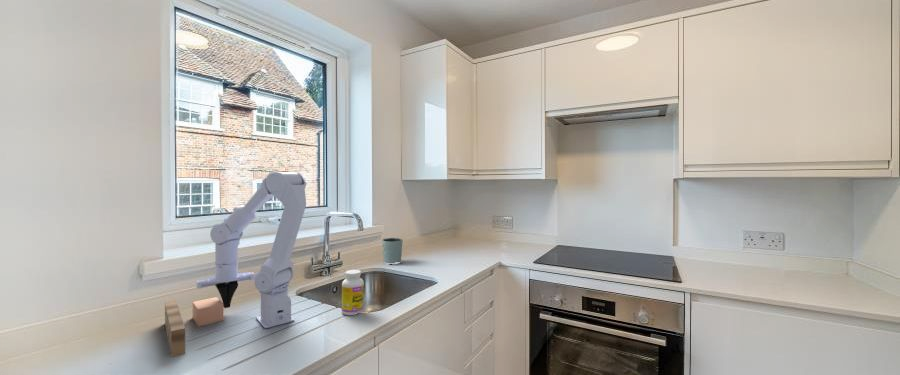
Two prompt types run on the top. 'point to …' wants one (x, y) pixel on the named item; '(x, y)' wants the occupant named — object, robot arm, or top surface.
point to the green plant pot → (392, 249)
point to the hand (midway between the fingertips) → (226, 306)
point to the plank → (174, 329)
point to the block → (207, 311)
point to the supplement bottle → (352, 293)
